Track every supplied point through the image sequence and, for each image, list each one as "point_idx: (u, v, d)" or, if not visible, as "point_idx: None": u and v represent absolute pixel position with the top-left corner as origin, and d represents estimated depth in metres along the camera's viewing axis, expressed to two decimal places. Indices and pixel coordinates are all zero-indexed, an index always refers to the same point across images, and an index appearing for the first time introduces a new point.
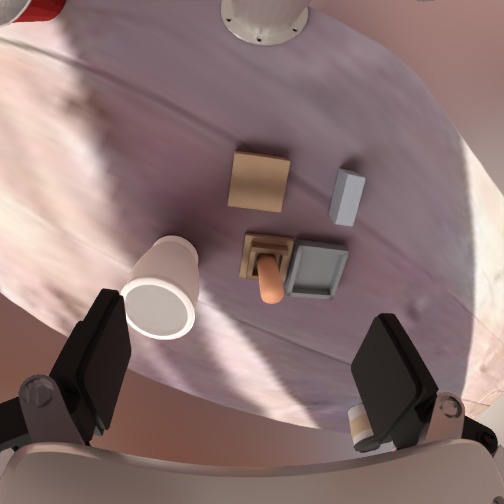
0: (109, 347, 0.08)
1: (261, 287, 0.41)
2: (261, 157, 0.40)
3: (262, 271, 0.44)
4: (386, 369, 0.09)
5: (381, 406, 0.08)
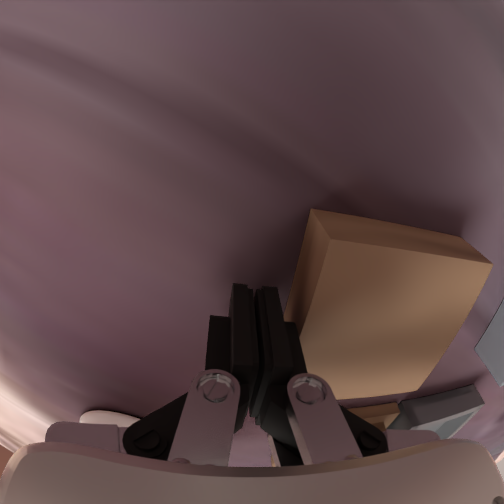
0: None
1: None
2: (427, 256, 0.09)
3: None
4: None
5: None
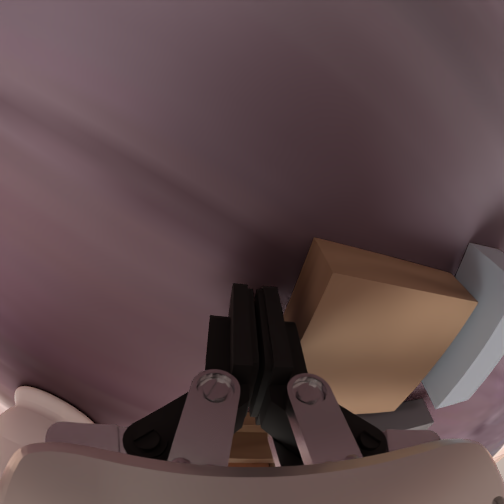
0: None
1: None
2: (418, 293, 0.10)
3: None
4: None
5: None
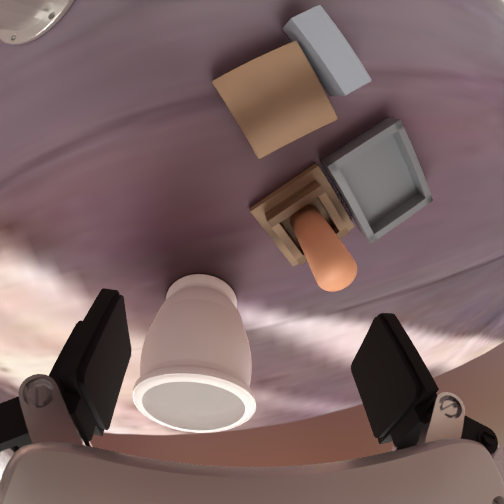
0: (109, 347, 0.08)
1: None
2: (253, 61, 0.20)
3: (303, 244, 0.24)
4: (386, 369, 0.09)
5: (381, 406, 0.08)
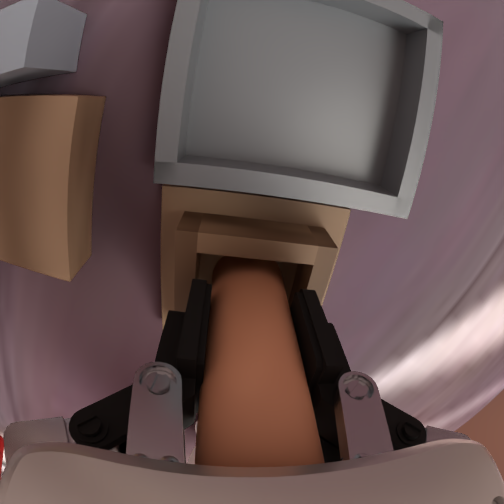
0: (207, 332, 0.09)
1: None
2: None
3: None
4: (299, 344, 0.09)
5: None
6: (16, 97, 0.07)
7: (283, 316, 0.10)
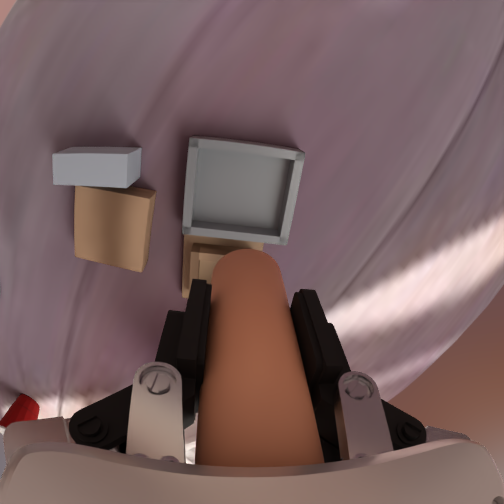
0: (207, 332, 0.09)
1: None
2: (75, 224, 0.26)
3: None
4: (299, 344, 0.09)
5: None
6: (116, 193, 0.25)
7: (283, 316, 0.10)
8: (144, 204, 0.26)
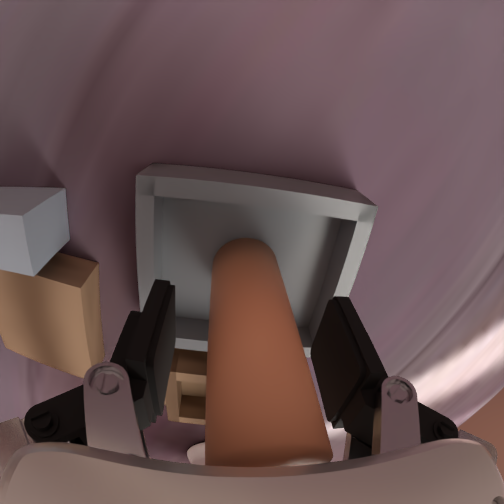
0: (166, 334, 0.09)
1: None
2: None
3: None
4: (336, 351, 0.09)
5: (332, 389, 0.09)
6: None
7: (281, 296, 0.11)
8: (74, 296, 0.13)
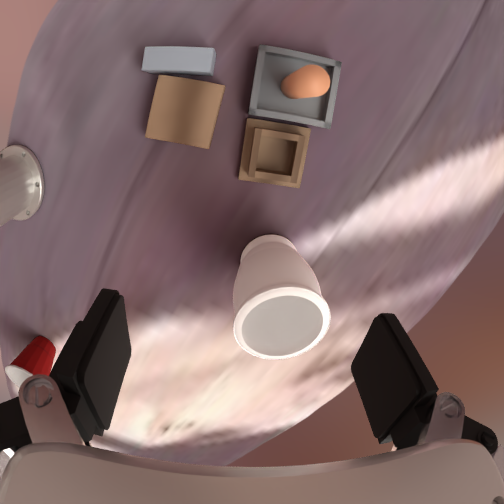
0: (109, 347, 0.08)
1: (304, 95, 0.24)
2: (152, 107, 0.30)
3: (291, 92, 0.27)
4: (386, 369, 0.09)
5: (381, 406, 0.08)
6: (196, 80, 0.29)
7: None
8: (219, 89, 0.30)
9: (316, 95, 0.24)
